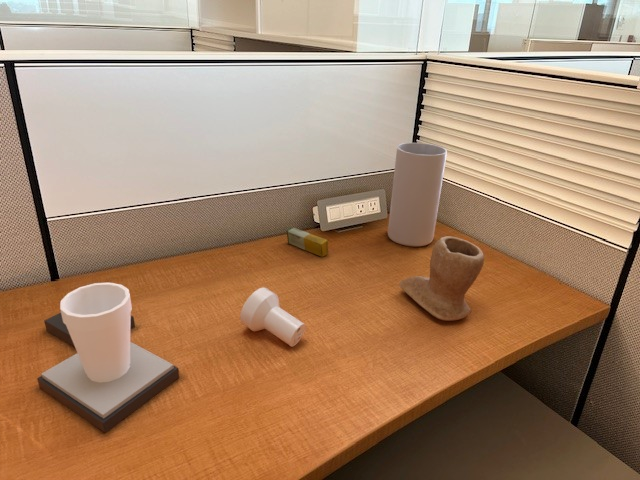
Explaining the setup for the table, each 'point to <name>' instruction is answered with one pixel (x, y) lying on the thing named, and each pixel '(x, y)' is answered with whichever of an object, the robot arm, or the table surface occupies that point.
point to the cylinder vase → (416, 193)
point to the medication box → (307, 241)
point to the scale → (108, 387)
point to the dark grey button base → (65, 328)
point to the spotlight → (271, 317)
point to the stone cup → (447, 279)
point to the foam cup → (100, 328)
